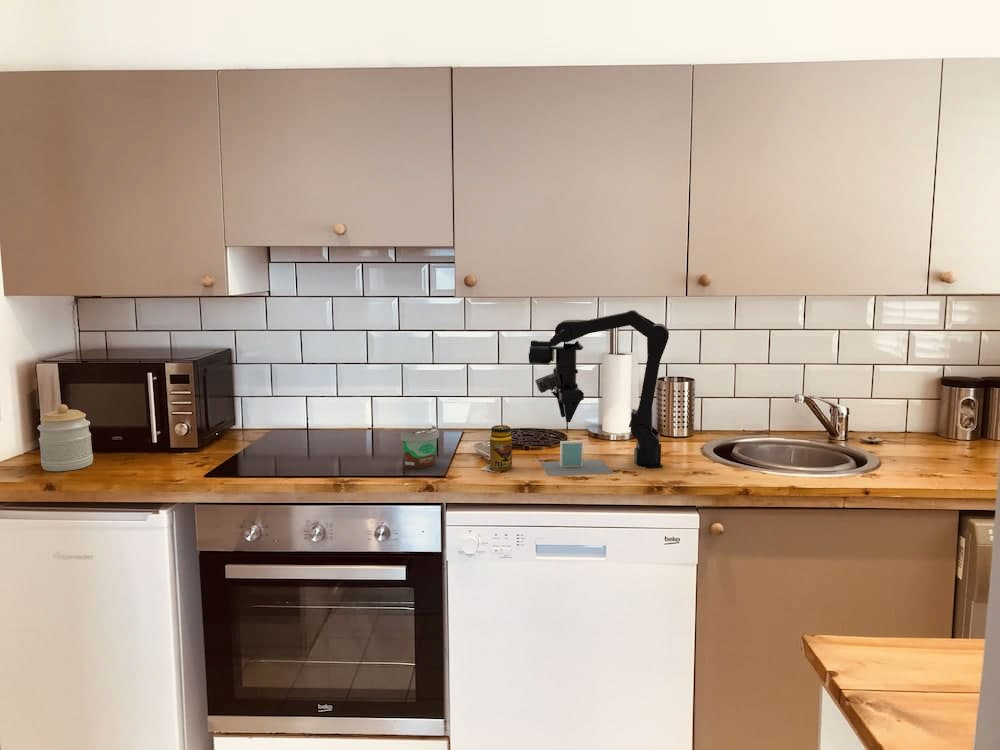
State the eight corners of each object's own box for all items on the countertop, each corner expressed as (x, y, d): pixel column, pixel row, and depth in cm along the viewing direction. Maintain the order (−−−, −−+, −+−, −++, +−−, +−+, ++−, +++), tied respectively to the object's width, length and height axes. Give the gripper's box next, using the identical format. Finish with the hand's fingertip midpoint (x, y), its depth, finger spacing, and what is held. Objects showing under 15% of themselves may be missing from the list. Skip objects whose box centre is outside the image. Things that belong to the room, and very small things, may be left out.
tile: (581, 464, 221) (581, 440, 219) (582, 466, 219) (582, 441, 218) (559, 465, 220) (560, 441, 219) (561, 467, 218) (561, 442, 217)
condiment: (505, 474, 214) (505, 430, 212) (478, 469, 218) (478, 427, 216) (518, 467, 220) (518, 425, 218) (492, 463, 224) (491, 422, 222)
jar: (104, 461, 228) (99, 401, 225) (68, 473, 215) (62, 410, 213) (67, 458, 231) (61, 399, 228) (30, 470, 219) (23, 407, 216)
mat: (601, 461, 226) (601, 460, 226) (614, 475, 212) (614, 473, 212) (539, 464, 224) (539, 462, 223) (548, 477, 210) (548, 475, 210)
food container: (416, 472, 216) (415, 436, 214) (401, 467, 220) (400, 432, 219) (448, 462, 225) (448, 428, 223) (434, 459, 229) (433, 425, 228)
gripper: (532, 361, 231) (532, 413, 233) (543, 371, 213) (543, 428, 215) (569, 360, 232) (569, 412, 235) (584, 370, 214) (583, 426, 217)
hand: (565, 419), depth 225 cm, fingers open, 7 cm apart
